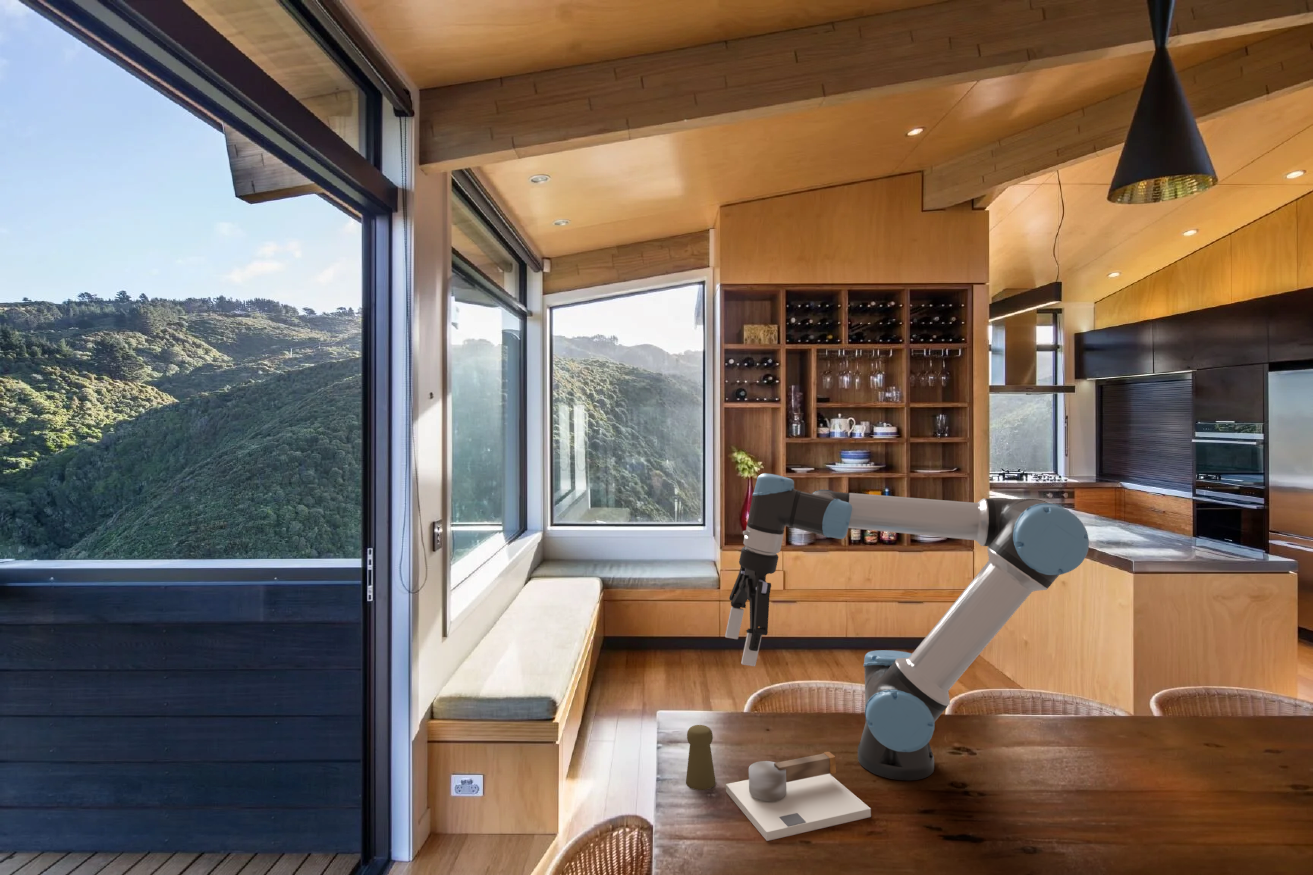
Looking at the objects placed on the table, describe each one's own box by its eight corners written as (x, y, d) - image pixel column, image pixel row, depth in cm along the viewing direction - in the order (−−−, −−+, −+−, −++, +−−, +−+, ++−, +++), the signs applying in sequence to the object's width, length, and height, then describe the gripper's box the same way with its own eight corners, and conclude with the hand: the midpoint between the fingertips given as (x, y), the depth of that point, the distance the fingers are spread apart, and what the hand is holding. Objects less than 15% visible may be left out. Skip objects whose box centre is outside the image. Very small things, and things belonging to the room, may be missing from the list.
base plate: (819, 772, 137) (819, 764, 137) (870, 816, 121) (870, 807, 121) (725, 791, 130) (725, 783, 130) (766, 840, 114) (766, 831, 114)
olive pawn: (714, 791, 131) (712, 734, 131) (683, 788, 132) (682, 732, 132) (717, 775, 136) (716, 721, 136) (688, 773, 138) (687, 720, 138)
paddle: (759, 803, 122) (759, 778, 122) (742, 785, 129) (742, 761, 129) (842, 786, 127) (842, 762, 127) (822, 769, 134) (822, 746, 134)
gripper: (728, 532, 147) (709, 625, 148) (760, 563, 122) (736, 674, 123) (760, 538, 148) (741, 630, 149) (799, 570, 123) (775, 680, 124)
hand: (739, 650), depth 136 cm, fingers open, 13 cm apart
